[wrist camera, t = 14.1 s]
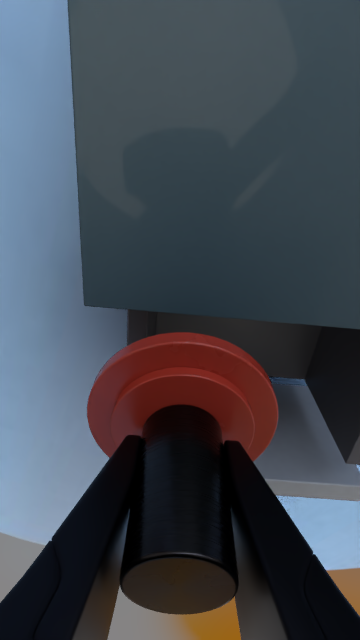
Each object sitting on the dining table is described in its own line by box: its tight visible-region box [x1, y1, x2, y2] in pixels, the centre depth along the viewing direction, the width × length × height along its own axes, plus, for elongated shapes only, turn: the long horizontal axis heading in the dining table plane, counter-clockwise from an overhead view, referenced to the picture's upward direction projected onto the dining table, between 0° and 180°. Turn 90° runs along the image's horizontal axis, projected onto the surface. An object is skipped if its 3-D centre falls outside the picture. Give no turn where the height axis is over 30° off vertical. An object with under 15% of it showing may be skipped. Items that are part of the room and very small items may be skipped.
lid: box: [87, 332, 278, 614], centre depth 9 cm, size 6×6×5 cm
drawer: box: [127, 310, 360, 501], centre depth 19 cm, size 17×13×8 cm
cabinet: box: [68, 0, 360, 329], centre depth 12 cm, size 14×14×10 cm
